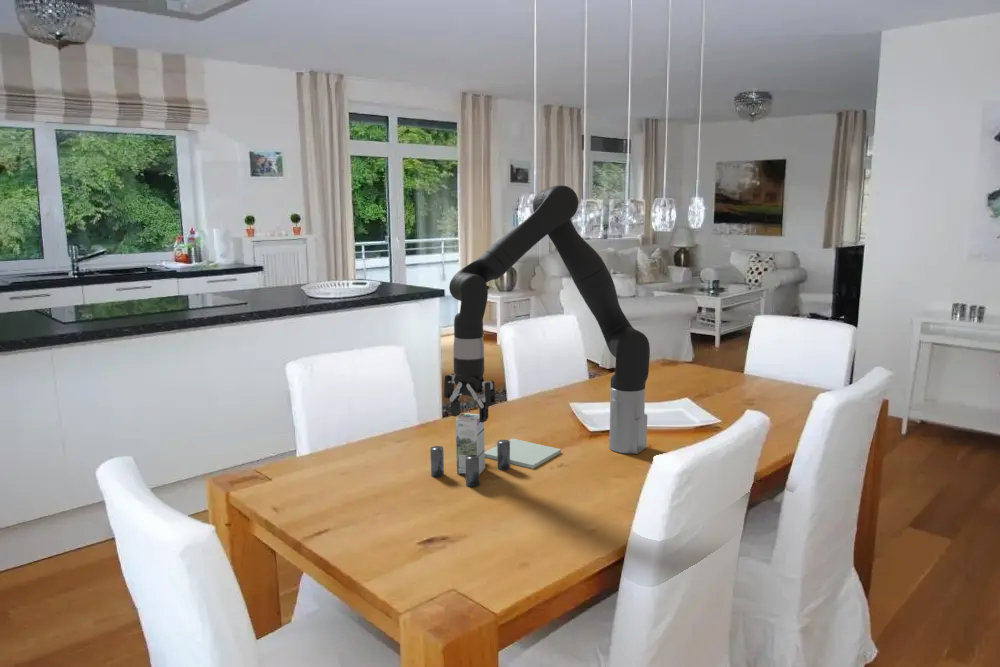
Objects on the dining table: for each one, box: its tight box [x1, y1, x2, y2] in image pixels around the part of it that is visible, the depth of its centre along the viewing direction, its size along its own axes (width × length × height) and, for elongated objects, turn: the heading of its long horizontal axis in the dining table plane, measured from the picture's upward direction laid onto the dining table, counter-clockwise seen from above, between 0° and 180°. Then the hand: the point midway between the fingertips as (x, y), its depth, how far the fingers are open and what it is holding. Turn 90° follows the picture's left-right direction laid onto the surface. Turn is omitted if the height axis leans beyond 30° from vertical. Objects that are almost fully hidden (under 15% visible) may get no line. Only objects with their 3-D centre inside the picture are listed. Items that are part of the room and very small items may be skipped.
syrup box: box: [455, 412, 486, 476], centre depth 175 cm, size 6×6×14 cm
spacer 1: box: [429, 445, 445, 478], centre depth 174 cm, size 3×3×7 cm
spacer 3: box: [496, 439, 511, 471], centre depth 178 cm, size 3×3×7 cm
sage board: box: [485, 438, 562, 470], centre depth 188 cm, size 16×14×1 cm
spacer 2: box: [465, 455, 480, 488], centre depth 168 cm, size 3×3×7 cm
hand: (469, 418), depth 174 cm, fingers open, 8 cm apart
